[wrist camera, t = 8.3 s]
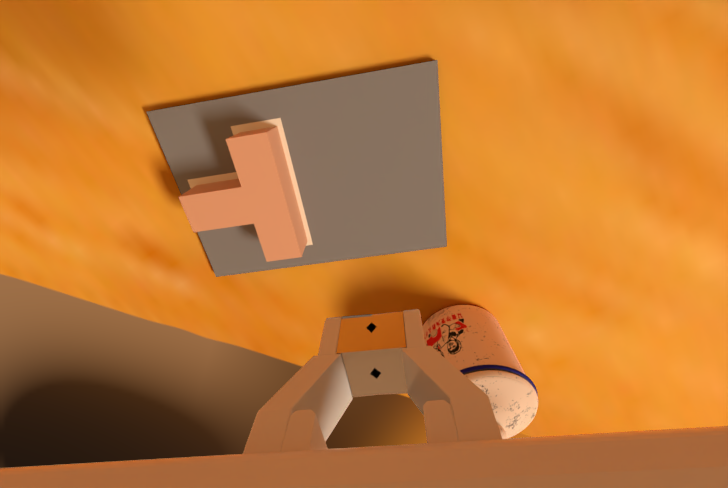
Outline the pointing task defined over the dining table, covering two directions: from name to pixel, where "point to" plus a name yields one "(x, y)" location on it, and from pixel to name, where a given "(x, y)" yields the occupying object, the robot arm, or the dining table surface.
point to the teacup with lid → (485, 362)
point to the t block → (253, 196)
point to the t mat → (326, 163)
